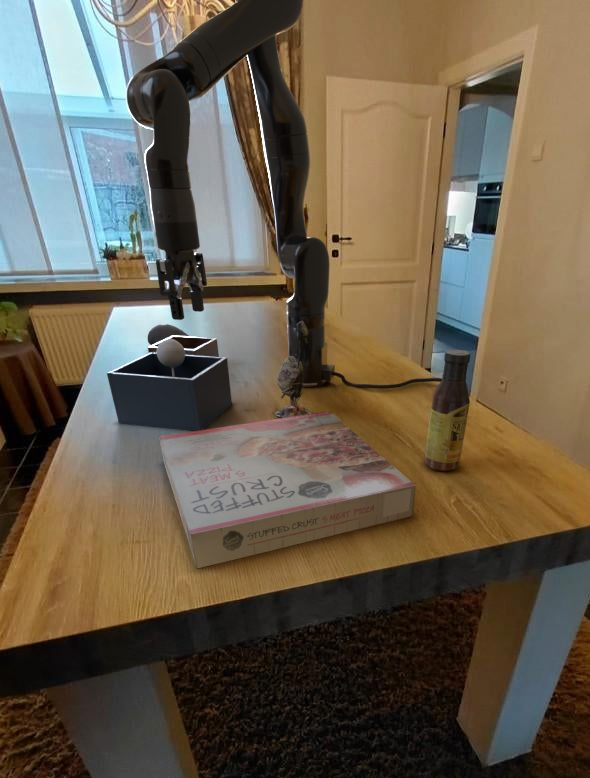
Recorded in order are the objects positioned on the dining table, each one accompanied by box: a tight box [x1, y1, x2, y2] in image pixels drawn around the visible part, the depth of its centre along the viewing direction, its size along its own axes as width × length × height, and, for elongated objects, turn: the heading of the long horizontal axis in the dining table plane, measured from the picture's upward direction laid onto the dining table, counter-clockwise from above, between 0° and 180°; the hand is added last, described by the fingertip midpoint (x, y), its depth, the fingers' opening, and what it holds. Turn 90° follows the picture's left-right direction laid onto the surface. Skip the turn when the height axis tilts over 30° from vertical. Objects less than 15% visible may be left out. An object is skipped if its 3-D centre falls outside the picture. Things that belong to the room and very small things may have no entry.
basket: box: [147, 336, 220, 357], centre depth 136 cm, size 14×14×7 cm
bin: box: [106, 352, 233, 432], centre depth 106 cm, size 19×17×11 cm
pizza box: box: [158, 410, 417, 569], centre depth 79 cm, size 32×5×32 cm
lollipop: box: [156, 339, 185, 377], centre depth 108 cm, size 6×6×15 cm
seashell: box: [147, 323, 191, 346], centre depth 157 cm, size 14×19×8 cm
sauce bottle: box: [424, 349, 471, 472], centre depth 83 cm, size 6×6×20 cm
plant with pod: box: [273, 321, 312, 418], centre depth 103 cm, size 8×11×20 cm
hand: (189, 315), depth 97 cm, fingers open, 8 cm apart
